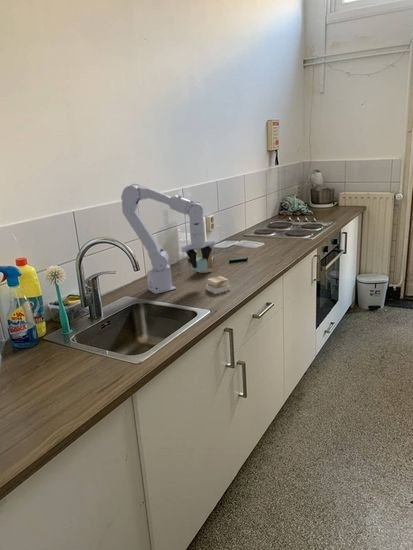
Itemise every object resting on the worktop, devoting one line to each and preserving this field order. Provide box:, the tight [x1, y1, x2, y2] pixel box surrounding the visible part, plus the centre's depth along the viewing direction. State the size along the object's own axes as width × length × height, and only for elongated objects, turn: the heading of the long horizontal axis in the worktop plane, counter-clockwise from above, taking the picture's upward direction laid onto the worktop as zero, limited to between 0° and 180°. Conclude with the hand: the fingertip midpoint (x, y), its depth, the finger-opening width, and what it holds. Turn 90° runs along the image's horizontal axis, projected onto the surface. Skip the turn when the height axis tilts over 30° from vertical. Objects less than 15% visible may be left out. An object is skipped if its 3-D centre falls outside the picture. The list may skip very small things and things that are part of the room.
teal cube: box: [192, 257, 207, 273], centre depth 169 cm, size 4×4×4 cm
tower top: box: [207, 275, 229, 289], centre depth 166 cm, size 6×6×2 cm
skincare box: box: [196, 246, 213, 274], centre depth 191 cm, size 6×4×12 cm
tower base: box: [205, 284, 231, 295], centre depth 167 cm, size 7×7×2 cm
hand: (199, 266), depth 169 cm, fingers closed on teal cube, 4 cm apart
